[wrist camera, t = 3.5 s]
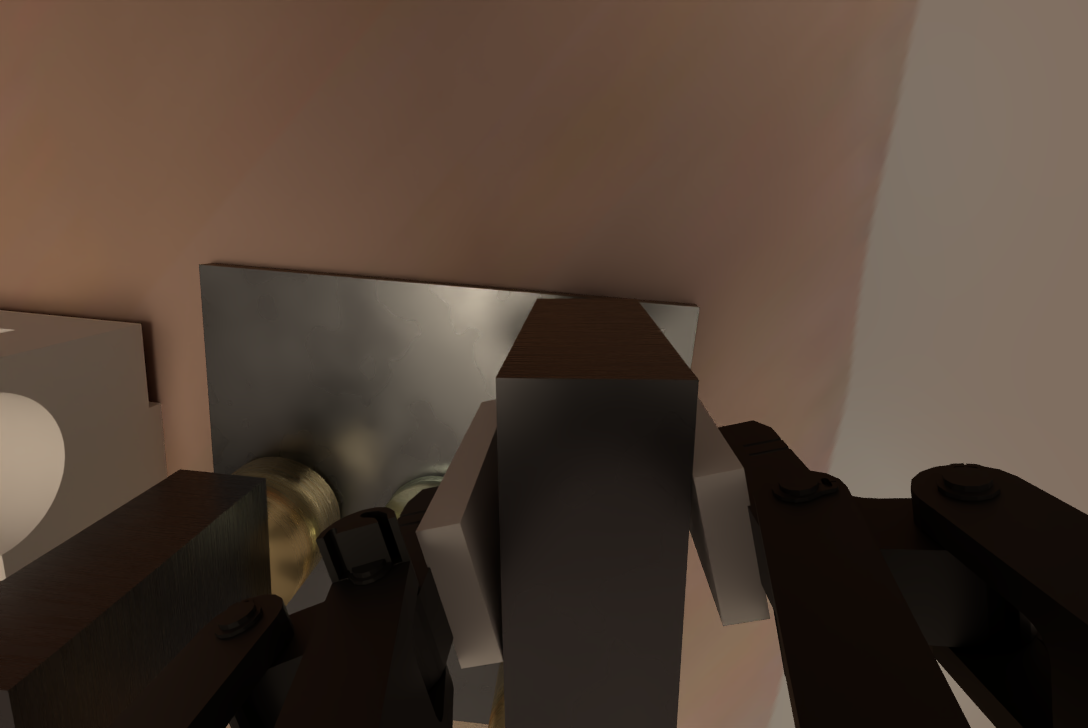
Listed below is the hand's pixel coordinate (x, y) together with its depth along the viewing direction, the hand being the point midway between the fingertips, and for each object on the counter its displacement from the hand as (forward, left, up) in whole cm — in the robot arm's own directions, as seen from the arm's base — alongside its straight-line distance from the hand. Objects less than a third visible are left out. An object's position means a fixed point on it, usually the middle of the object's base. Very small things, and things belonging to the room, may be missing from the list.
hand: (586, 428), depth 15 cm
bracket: (+3, -24, -8) cm, 26 cm away
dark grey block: (0, 0, -7) cm, 7 cm away
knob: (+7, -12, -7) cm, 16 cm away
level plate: (+7, -6, -7) cm, 12 cm away
